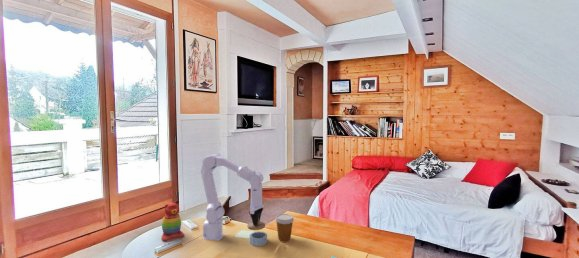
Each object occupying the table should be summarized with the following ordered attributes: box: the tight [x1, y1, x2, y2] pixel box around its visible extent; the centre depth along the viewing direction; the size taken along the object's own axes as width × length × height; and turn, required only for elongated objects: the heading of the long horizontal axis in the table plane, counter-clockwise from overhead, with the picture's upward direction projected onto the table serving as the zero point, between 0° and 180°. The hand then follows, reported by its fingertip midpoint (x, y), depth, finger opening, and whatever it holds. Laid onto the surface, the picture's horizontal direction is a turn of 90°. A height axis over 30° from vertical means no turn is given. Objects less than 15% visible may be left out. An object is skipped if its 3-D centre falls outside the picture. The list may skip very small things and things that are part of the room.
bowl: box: [249, 231, 268, 247], centre depth 138 cm, size 9×9×4 cm
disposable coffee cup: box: [275, 213, 295, 243], centre depth 142 cm, size 10×10×12 cm
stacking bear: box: [161, 202, 185, 243], centre depth 144 cm, size 11×10×18 cm
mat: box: [234, 229, 256, 239], centre depth 147 cm, size 9×9×1 cm
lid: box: [246, 218, 266, 231], centre depth 139 cm, size 9×9×4 cm
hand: (256, 223), depth 139 cm, fingers closed on lid, 3 cm apart
